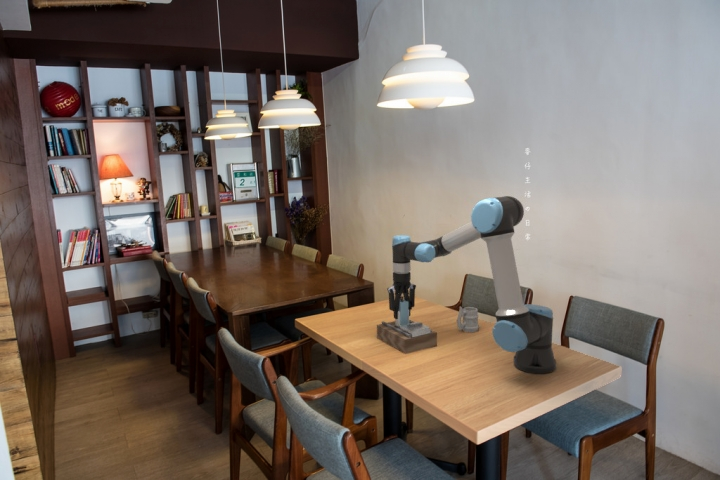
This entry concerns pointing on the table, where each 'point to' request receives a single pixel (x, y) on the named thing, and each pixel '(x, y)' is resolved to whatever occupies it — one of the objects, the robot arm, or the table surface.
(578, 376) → the table surface
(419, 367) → the table surface
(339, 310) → the table surface
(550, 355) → the robot arm
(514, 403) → the table surface
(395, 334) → the socket box
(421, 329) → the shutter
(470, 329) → the mug
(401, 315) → the blue square bottle
